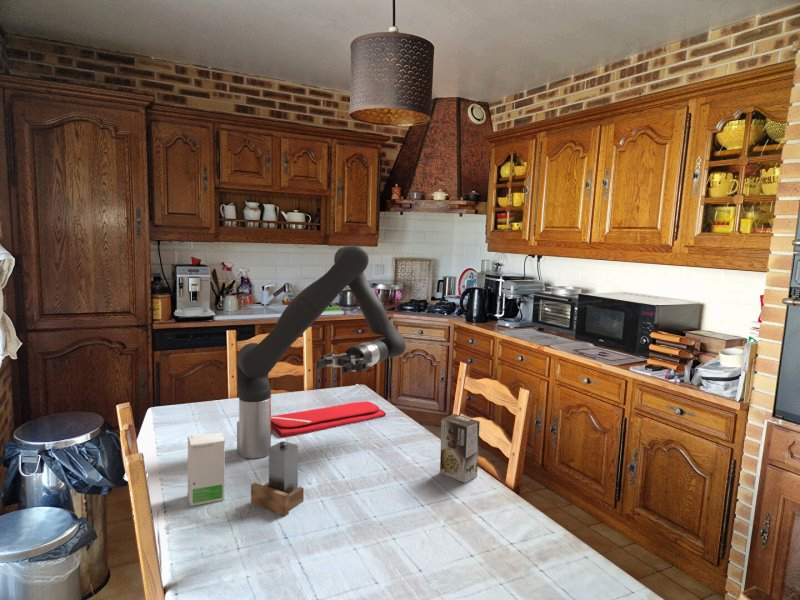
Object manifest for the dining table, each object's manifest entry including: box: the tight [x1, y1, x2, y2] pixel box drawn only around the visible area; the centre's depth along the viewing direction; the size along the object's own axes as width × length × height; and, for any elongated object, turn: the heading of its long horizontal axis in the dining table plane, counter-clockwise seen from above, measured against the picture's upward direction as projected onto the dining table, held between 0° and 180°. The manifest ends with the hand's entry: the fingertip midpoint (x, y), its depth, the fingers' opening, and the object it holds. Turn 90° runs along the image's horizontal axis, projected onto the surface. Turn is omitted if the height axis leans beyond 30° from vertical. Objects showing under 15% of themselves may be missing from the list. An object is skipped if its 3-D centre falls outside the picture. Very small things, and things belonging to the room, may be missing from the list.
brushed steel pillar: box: [268, 440, 299, 494], centre depth 129 cm, size 5×5×15 cm
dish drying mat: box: [271, 400, 387, 439], centre depth 186 cm, size 16×41×4 cm, turn 125°
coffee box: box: [439, 413, 481, 483], centre depth 145 cm, size 9×6×16 cm
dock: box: [250, 481, 305, 517], centre depth 128 cm, size 11×8×5 cm
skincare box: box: [187, 432, 226, 507], centre depth 129 cm, size 8×7×16 cm
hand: (330, 367), depth 142 cm, fingers open, 8 cm apart
